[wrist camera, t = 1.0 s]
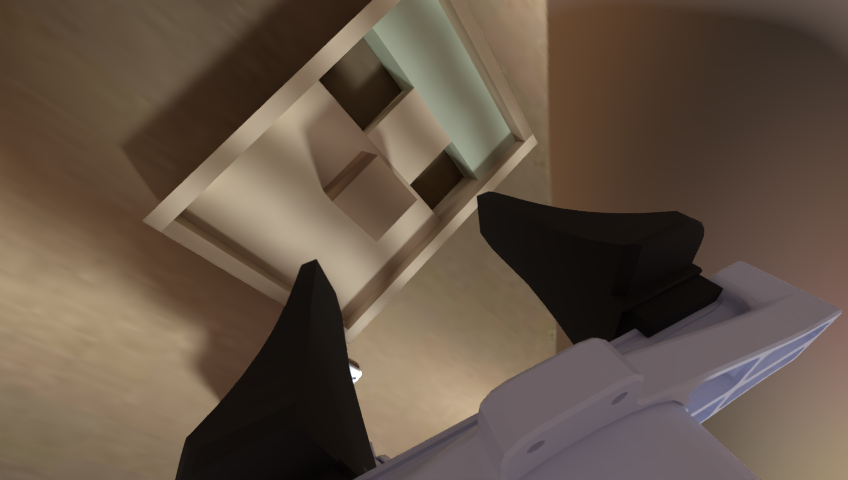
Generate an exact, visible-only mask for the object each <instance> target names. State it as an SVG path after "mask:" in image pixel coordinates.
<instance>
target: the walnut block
mask: <svg viewBox="0 0 848 480" xmlns="http://www.w3.org/2000/svg"><path fill="white" fill-rule="evenodd" d="M323 191H324V192H325V194H326V195H327V196H328V197H329V199H330V200H331V201H332V202H333V203H334V204H335V205H336V206H337V207H338V208H339V209H341V210H342V211H343V212H344V213H345V214H346V215H347V216H348V217H349V218H351V219H352V220H353V221H354V222H355V223H356V224H357V225H358V226H359V227H361V228H362V229H363V230H364V231H365V232H366V233H367V234H368V235H369V236H370V237H372V238H373V239H374V240H375V241H376V242H377V241H378V240H379V239H380V238H381V237H382V236H383V235H384V234H385V233H386V232H387V231H388V230H389V229H390V228H391V227H392V226H393V225H394V224H395V223H396V222H397V221H398V220H399V218H400V217H401V216H402V215H403V214H404V213H405V212H406V211H407V210H408V209H409V208H410V207H411V206H412V205H413V204H414V203H415V202H416V201H417V198H416V197H415V196H414V195H413V194H412V193H411V192H410V191H409V189H408V188H407V187H406V186H405V185H404V184H403V183H402V181H401V180H400V179H399V178H398V177H397V176H396V175H395V174H394V172H393V171H392V170H391V169H390V168H389V167H388V166H387V165H386V163H385V162H384V161H383V160H382V159H381V158H380V157H379V155H376V154H372V153H368V152H364V151H361V152H360V153H359V154H358V155H357V156H356V157H355V158H354V159H353V160H352V161H351V162H350V163H349V164H348V165H347V166H346V167H345V168H344V169H343V170H342V171H341V172H340V173H339V174H338V175H337V176H336V177H335V178H334V179H333V180H332V181H331V182H330V183H329V184H328V185H327V186H326V187H325V188H324V189H323Z"/></svg>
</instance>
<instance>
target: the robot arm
mask: <svg viewBox="0 0 848 480" xmlns="http://www.w3.org/2000/svg"><path fill="white" fill-rule="evenodd" d="M477 205H478V214H479V224H480V233H481V234H482V236H483V237H484V238H485V240H486V241H487V243H488V244H489V245H490V246H491V248H492V249H493V250H494V251H495V252H496V253H497V254H498V255H499V256H500V257H501V258H502V259H503V260H504V261H505V262H506V263H507V264H508V265H509V266H510V267H511V268H512V269H513V270H514V271H515V272H516V273H517V274H518V275H519V276H520V277H521V278H522V279H523V280H524V281H525V282H526V283H527V284H528V285H529V286H530V287H531V289H532V290H533V291H534V292H535V294H536V295H537V296H538V297H539V299H540V300H541V301H542V302H543V304H544V305H545V306H546V307H547V309H548V310H549V311H550V313H551V314H552V315H553V317H554V318H555V319H556V321H557V322H558V323H559V325H560V326H561V327H562V329H563V330H564V332H565V333H566V335H567V336H568V337H569V339H570V340H571V342H572V343H573V346H571V347H570V348H568V349H566V350H564V351H562V352H560V353H558V354H556V355H554V356H552V357H550V358H548V359H546V360H545V361H543V362H541V363H539V364H537V365H535V366H533V367H531V368H529V369H527V370H525V371H524V372H522V373H520V374H518V375H516V376H514V377H512V378H510V379H508V380H506V381H505V382H504V383H502V384H501V385H499V386H498V387H496V388H495V389H493V390H492V391H491V392H490V393H489V394H488V395H487V396H486V398H485V399H484V400H483V401H482V402H481V404H480V408H479V412H478V413H476V414H475V415H473V416H471V417H469V418H467V419H465V420H463V421H461V422H460V423H458V424H456V425H454V426H452V427H450V428H448V429H447V430H445V431H443V432H441V433H439V434H437V435H435V436H433V437H432V438H430V439H428V440H426V441H424V442H422V443H420V444H419V445H417V446H415V447H413V448H411V449H409V450H407V451H405V452H404V453H402V454H400V455H398V456H396V457H394V458H392V459H391V458H390V457H388V456H386V455H380V456H378V457H376V455H375V452H374V449H373V446H372V442H369V439H368V435H367V432H366V428H365V425H364V421H363V418H362V414H361V410H360V407H359V403H358V399H357V395H356V392H355V388H354V383H355V382H356V381H357V380H358V379H359V377H360V376H361V375H362V372H361V370H360V369H359V368H357V367H355V366H354V365H352V364H350V363H349V361H348V354H347V347H346V340H345V332H344V325H343V318H342V313H341V309H340V305H339V302H338V298H337V295H336V292H335V291H334V289H333V287H332V285H331V283H330V282H329V280H328V278H327V276H326V275H325V273H324V271H323V269H322V267H321V266H320V264H319V262H318V260H317V259H315V260H312V261H310V262H307V263H305V264H302V265H301V267H300V269H299V272H298V275H297V277H296V280H295V283H294V285H293V288H292V291H291V293H290V295H289V298H288V300H287V302H286V305H285V307H284V309H283V311H282V313H281V315H280V317H279V319H278V321H277V324H276V325H275V327H274V329H273V331H272V333H271V334H270V336H269V338H268V339H267V341H266V343H265V344H264V346H263V347H262V349H261V350H260V352H259V353H258V355H257V356H256V357H255V359H254V360H253V362H252V363H251V364H250V366H249V367H248V369H247V370H246V371H245V373H244V374H243V375H242V377H241V378H240V379H239V380H238V382H237V383H236V384H235V385H234V387H233V388H232V389H231V390H230V391H229V392H228V394H227V395H226V396H225V397H224V398H223V400H222V401H221V402H220V403H219V404H218V405H217V406H216V407H215V408H214V410H213V411H212V412H211V413H210V414H209V415H208V416H207V417H206V418H205V419H204V420H203V421H202V422H201V423H200V424H199V425H198V426H197V428H196V429H195V430H194V431H193V432H192V433H191V434H190V435H189V436H188V437H187V438H186V440H185V443H184V447H183V450H182V454H181V458H180V462H179V466H178V470H177V474H176V479H175V480H760V479H759V478H758V477H757V476H756V475H755V474H754V473H753V472H752V471H751V470H749V469H748V468H747V467H746V466H745V465H744V464H743V463H742V462H741V461H740V460H739V459H737V458H736V457H735V456H734V455H733V454H732V453H731V452H730V451H729V450H728V449H727V448H725V446H723V445H722V444H721V443H720V442H719V441H718V440H717V439H716V438H715V437H714V436H713V435H712V434H710V433H709V432H708V431H707V430H706V429H705V428H704V427H703V426H702V425H701V423H702V422H704V421H705V420H706V419H708V418H709V417H711V416H712V415H713V414H715V413H716V412H718V411H719V410H720V409H722V408H723V407H725V406H726V405H728V404H729V403H730V402H732V401H733V400H734V399H736V398H737V397H739V396H740V395H742V394H743V393H744V392H746V391H747V390H749V389H750V388H752V387H753V386H755V385H756V384H758V383H759V382H760V381H762V380H763V379H765V378H766V377H768V376H769V375H771V374H772V373H774V372H775V371H777V370H779V369H780V368H782V367H783V366H785V365H786V364H788V363H789V362H791V361H792V360H794V359H795V358H796V357H797V356H798V355H799V354H800V353H801V352H802V351H803V350H804V349H805V348H806V347H808V345H809V344H811V342H813V341H814V340H815V339H816V338H817V337H818V336H819V335H820V334H821V333H822V332H823V331H824V330H825V329H826V328H827V327H828V326H829V325H830V324H831V323H832V322H833V321H834V320H835V319H836V318H837V317H838V316H839V315H840V314H841V313H842V311H841V309H840V308H838V307H836V306H834V305H831V304H830V303H828V302H826V301H823V300H821V299H819V298H817V297H815V296H813V295H811V294H809V293H807V292H805V291H803V290H801V289H799V288H797V287H794V286H792V285H790V284H788V283H786V282H784V281H782V280H780V279H778V278H776V277H774V276H772V275H770V274H768V273H766V272H764V271H762V270H759V269H757V268H755V267H753V266H751V265H749V264H747V263H745V262H743V261H738V262H736V263H734V264H732V265H730V266H728V267H726V268H724V269H722V270H720V271H718V272H717V273H716V274H714V275H713V276H712V277H711V278H710V279H709V280H708V279H706V278H704V277H703V276H701V275H699V274H700V273H701V272H702V270H701V268H700V267H698V266H696V265H694V264H692V262H693V259H694V257H695V255H696V253H697V251H698V249H699V247H700V244H701V242H702V239H703V236H704V227H703V224H702V223H701V222H699V221H698V220H695V219H693V218H691V217H689V216H686V215H684V214H682V213H680V212H677V211H669V212H653V213H599V212H586V211H577V210H569V209H562V208H556V207H552V206H547V205H542V204H538V203H533V202H529V201H525V200H522V199H518V198H514V197H511V196H507V195H503V194H499V193H495V192H490V191H488V192H485V193H483V194H480V195H478V196H477ZM354 376H355V377H354ZM352 377H354V378H352Z"/></svg>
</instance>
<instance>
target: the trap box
mask: <svg viewBox="0 0 848 480" xmlns="http://www.w3.org/2000/svg"><path fill="white" fill-rule="evenodd" d="M362 37H363V38H364V39H365V41H366V42H367V43H368V45H369V46H370V48H371V49H372V50H373V52H374V53H375V55H376V56H377V57H378V59H379V60H380V61H381V63H382V64H383V66H384V67H385V68H386V70H387V71H388V72H389V74H390V75H391V77H392V78H393V79H394V81H395V82H396V84H397V85H398V86H399V88H400V89H401V90H402V92H401V93H400V94H399V95H398V96H397V97H396V98H395V99H394V100H393V101H392V102H391V103H390V104H389V105H388V106H387V107H386V108H385V109H384V110H383V111H382V112H381V113H380V114H379V115H378V116H377V117H376V118H375V119H374V120H373V121H372V122H371V123H370V124H369V125H368V126H367V127H366V128H365V129H364V130H363V131H362V130H361V129H360V127H359V126H358V125H357V124H356V123H355V122H354V121H353V119H352V118H351V117H350V116H349V115H348V114H347V113H346V111H345V110H344V109H343V108H342V107H341V106H340V104H339V103H338V102H337V101H336V100H335V99H334V98H333V96H332V95H331V94H330V93H329V92H328V91H327V90H326V88H325V87H324V86H323V85H322V84H321V83H320V82H319V79H320V78H321V77H322V76H323V75H324V74H325V73H326V72H327V71H328V70H329V69H330V68H331V67H332V66H333V65H334V64H335V63H336V62H338V61H339V60H340V59H341V58H342V57H343V56H344V55H345V54H346V53H347V52H348V51H349V50H350V49H351V48H352V47H353V46H354V45H355V44H356V43H357V42H358V41H359V40H360V39H361V38H362ZM536 144H537V141H536V139H535V137H534V135H533V133H532V131H531V129H530V127H529V125H528V123H527V121H526V119H525V117H524V115H523V114H522V112H521V110H520V108H519V106H518V104H517V102H516V100H515V98H514V96H513V94H512V92H511V90H510V88H509V86H508V84H507V82H506V80H505V78H504V76H503V74H502V72H501V70H500V68H499V66H498V64H497V62H496V60H495V58H494V56H493V54H492V52H491V50H490V48H489V46H488V44H487V42H486V40H485V38H484V36H483V34H482V32H481V30H480V29H479V27H478V25H477V23H476V21H475V19H474V17H473V15H472V13H471V11H470V9H469V7H468V5H467V3H466V1H465V0H372V1H371V2H370V3H369V4H368V5H367V6H366V7H365V8H364V9H363V10H362V11H361V12H360V13H359V14H358V15H356V16H355V17H354V18H353V19H352V20H351V21H350V22H349V23H348V24H347V25H346V26H345V27H344V28H343V29H342V30H341V31H340V32H339V33H338V34H337V35H336V36H335V37H333V38H332V39H331V40H330V41H329V42H328V43H327V44H326V45H325V46H324V47H323V48H322V49H321V50H320V51H319V52H318V53H317V54H316V55H315V56H314V57H313V58H312V59H311V60H309V61H308V62H307V63H306V64H305V65H304V66H303V67H302V68H301V69H300V70H299V71H298V72H297V73H296V74H295V75H294V76H293V77H292V78H291V79H290V80H289V81H288V82H287V83H285V84H284V85H283V86H282V87H281V88H280V89H279V90H278V91H277V92H276V93H275V94H274V95H273V96H272V97H271V98H270V99H269V100H268V101H267V102H266V103H265V104H264V105H262V106H261V107H260V108H259V109H258V110H257V111H256V112H255V113H254V114H253V115H252V116H251V117H250V118H249V119H248V120H247V121H246V122H245V123H244V124H243V125H242V126H241V127H240V128H238V129H237V130H236V131H235V132H234V133H233V134H232V135H231V136H230V137H229V138H228V139H227V140H226V141H225V142H224V143H223V144H222V145H221V146H220V147H219V148H218V149H217V150H216V151H214V152H213V153H212V154H211V155H210V156H209V157H208V158H207V159H206V160H205V161H204V162H203V163H202V164H201V165H200V166H199V167H198V168H197V169H196V170H195V171H194V172H193V173H191V174H190V175H189V176H188V177H187V178H186V179H185V180H184V181H183V182H182V183H181V184H180V185H179V186H178V187H177V188H176V189H175V190H174V191H173V192H172V193H171V194H170V195H169V196H167V197H166V198H165V199H164V200H163V201H162V202H161V203H160V204H159V205H158V206H157V207H156V208H155V209H154V210H153V211H152V212H151V213H150V214H149V215H148V216H147V217H146V218H145V219H143V220H142V222H144V223H146V224H147V225H149V226H151V227H153V228H154V229H156V230H158V231H159V232H161V233H163V234H164V235H166V236H168V237H169V238H171V239H173V240H174V241H176V242H178V243H179V244H181V245H183V246H184V247H186V248H188V249H189V250H191V251H193V252H195V253H196V254H198V255H200V256H201V257H203V258H205V259H206V260H208V261H210V262H211V263H213V264H215V265H216V266H218V267H220V268H221V269H223V270H225V271H226V272H228V273H230V274H231V275H233V276H235V277H237V278H238V279H240V280H242V281H243V282H245V283H247V284H248V285H250V286H252V287H253V288H255V289H257V290H258V291H260V292H262V293H263V294H265V295H267V296H268V297H270V298H272V299H273V300H275V301H277V302H279V303H280V304H282V305H284V306H285V305H286V302H287V300H288V298H289V295H290V293H291V291H292V288H293V285H294V283H295V280H296V277H297V275H298V272H299V269H300V267H301V265H302V264H305V263H307V262H310V261H312V260H315V259H317V260H318V262H319V264H320V266H321V267H322V269H323V271H324V273H325V275H326V276H327V278H328V280H329V282H330V283H331V285H332V287H333V289H334V291H335V292H336V295H337V298H338V302H339V305H340V309H341V313H342V318H343V325H344V332H345V340H346V343H347V344H349V343H350V342H351V341H352V340H353V339H354V338H355V337H356V336H357V335H358V334H359V333H360V332H361V331H362V330H363V328H364V327H365V326H366V325H367V324H368V323H369V322H370V321H371V320H372V319H373V318H374V317H375V316H376V315H377V314H378V312H379V311H380V310H381V309H382V308H383V307H384V306H385V305H386V304H387V303H388V302H389V301H390V300H391V299H392V298H393V296H394V295H395V294H396V293H397V292H398V291H399V290H400V289H401V288H402V287H403V286H404V285H405V284H406V283H407V282H408V280H409V279H410V278H411V277H412V276H413V275H414V274H415V273H416V272H417V271H418V270H419V269H420V268H421V267H422V266H423V264H424V263H425V262H426V261H427V260H428V259H429V258H430V257H431V256H432V255H433V254H434V253H435V252H436V251H437V250H438V248H439V247H440V246H441V245H442V244H443V243H444V242H445V241H446V240H447V239H448V238H449V237H450V236H451V235H452V234H453V232H454V231H455V230H456V229H457V228H458V227H459V226H460V225H461V224H462V223H463V222H464V221H465V220H466V219H467V218H468V216H469V215H470V214H471V213H472V212H473V211H474V210H475V209H476V208H477V207H478V205H477V196H478V195H480V194H483V193H485V192H488V191H490V192H492V191H493V190H494V189H495V188H496V187H497V186H498V184H499V183H500V182H501V181H502V180H503V179H504V178H505V177H506V176H507V175H508V174H509V173H510V172H511V171H512V170H513V168H514V167H515V166H516V165H517V164H518V163H519V162H520V161H521V160H522V159H523V158H524V157H525V156H526V155H527V154H528V152H529V151H530V150H531V149H532V148H533V147H534V146H535V145H536ZM443 150H445V151H446V153H447V154H448V155H449V157H450V158H451V159H452V161H453V162H454V164H455V165H456V166H457V168H458V169H459V171H460V172H461V173H462V175H463V176H464V177H463V178H462V179H461V180H460V181H459V182H458V184H457V185H456V186H455V187H454V188H453V189H452V190H451V191H450V192H449V193H448V194H447V195H446V196H445V197H444V198H443V199H442V200H441V201H440V202H439V204H438V205H437V206H436V207H435V208H434V209H433V210H431V209H430V208H429V207H428V205H427V204H426V203H425V202H424V201H423V200H422V199H421V197H420V196H419V195H418V194H417V193H416V192H415V190H414V189H413V188H412V187H411V186H410V184H411V183H412V182H413V181H414V180H415V179H416V178H417V177H418V176H419V175H420V174H421V173H422V172H423V170H424V169H425V168H426V167H427V166H428V165H429V164H430V163H431V162H432V161H433V160H434V159H435V158H436V157H437V156H438V155H439V154H440V153H441V152H442V151H443ZM361 151H364V152H368V153H372V154H376V155H379V157H380V158H381V159H382V160H383V161H384V162H385V163H386V165H387V166H388V167H389V168H390V169H391V170H392V171H393V172H394V174H395V175H396V176H397V177H398V178H399V179H400V180H401V181H402V183H403V184H404V185H405V186H406V187H407V188H408V189H409V191H410V192H411V193H412V194H413V195H414V196H415V197H416V198H417V201H416V202H415V203H414V204H413V205H412V206H411V207H410V208H409V209H408V210H407V211H406V212H405V213H404V214H403V215H402V216H401V217H400V218H399V220H398V221H397V222H396V223H395V224H394V225H393V226H392V227H391V228H390V229H389V230H388V231H387V232H386V233H385V234H384V235H383V236H382V237H381V238H380V239H379V240H378V241H377V242H376V241H375V240H374V239H373V238H372V237H370V236H369V235H368V234H367V233H366V232H365V231H364V230H363V229H362V228H361V227H359V226H358V225H357V224H356V223H355V222H354V221H353V220H352V219H351V218H349V217H348V216H347V215H346V214H345V213H344V212H343V211H342V210H341V209H339V208H338V207H337V206H336V205H335V204H334V203H333V202H332V201H331V200H330V199H329V197H328V196H327V195H326V194H325V192H324V191H323V189H324V188H325V187H326V186H327V185H328V184H329V183H330V182H331V181H332V180H333V179H334V178H335V177H336V176H337V175H338V174H339V173H340V172H341V171H342V170H343V169H344V168H345V167H346V166H347V165H348V164H349V163H350V162H351V161H352V160H353V159H354V158H355V157H356V156H357V155H358V154H359V153H360V152H361Z"/></svg>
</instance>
